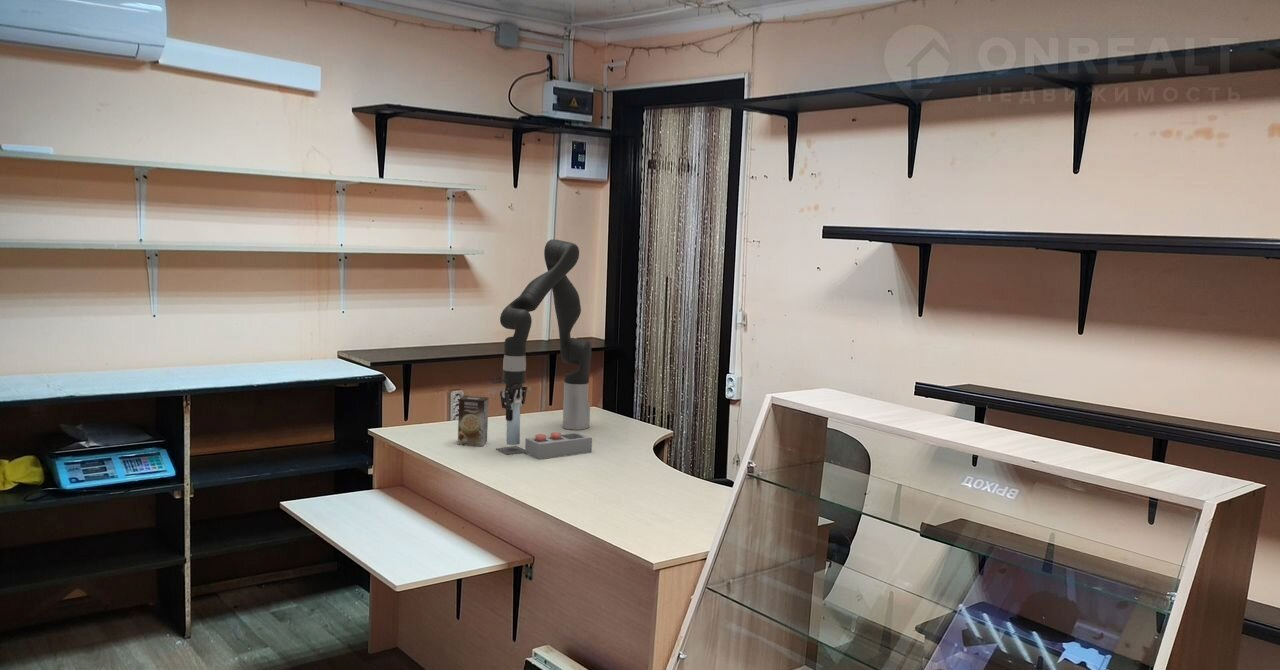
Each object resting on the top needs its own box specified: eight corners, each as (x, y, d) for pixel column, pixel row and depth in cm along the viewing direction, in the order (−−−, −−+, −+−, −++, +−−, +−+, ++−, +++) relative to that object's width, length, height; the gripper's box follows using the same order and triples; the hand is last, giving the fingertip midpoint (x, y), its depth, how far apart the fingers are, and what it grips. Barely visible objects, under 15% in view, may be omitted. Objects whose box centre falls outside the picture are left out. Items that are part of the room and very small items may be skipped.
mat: (516, 446, 315) (516, 445, 315) (528, 452, 309) (528, 451, 309) (495, 449, 311) (495, 448, 310) (507, 455, 304) (507, 453, 304)
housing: (576, 446, 320) (577, 432, 319) (591, 452, 313) (592, 437, 312) (525, 453, 308) (525, 438, 307) (539, 459, 301) (539, 444, 300)
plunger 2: (557, 447, 312) (557, 432, 311) (562, 450, 309) (563, 434, 308) (548, 449, 310) (549, 433, 309) (553, 451, 307) (554, 435, 306)
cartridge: (523, 442, 311) (523, 398, 309) (515, 445, 306) (516, 401, 304) (510, 441, 312) (510, 397, 311) (503, 444, 308) (503, 399, 306)
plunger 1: (541, 449, 308) (542, 433, 308) (547, 452, 306) (547, 435, 305) (533, 451, 306) (533, 434, 305) (538, 453, 303) (538, 437, 303)
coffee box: (456, 444, 315) (457, 398, 313) (462, 440, 321) (463, 395, 319) (483, 446, 314) (484, 400, 312) (488, 442, 320) (489, 396, 318)
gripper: (513, 372, 298) (511, 424, 300) (535, 367, 311) (533, 416, 314) (493, 370, 301) (491, 421, 303) (515, 364, 314) (514, 414, 316)
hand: (513, 418), depth 308 cm, fingers closed on cartridge, 4 cm apart
